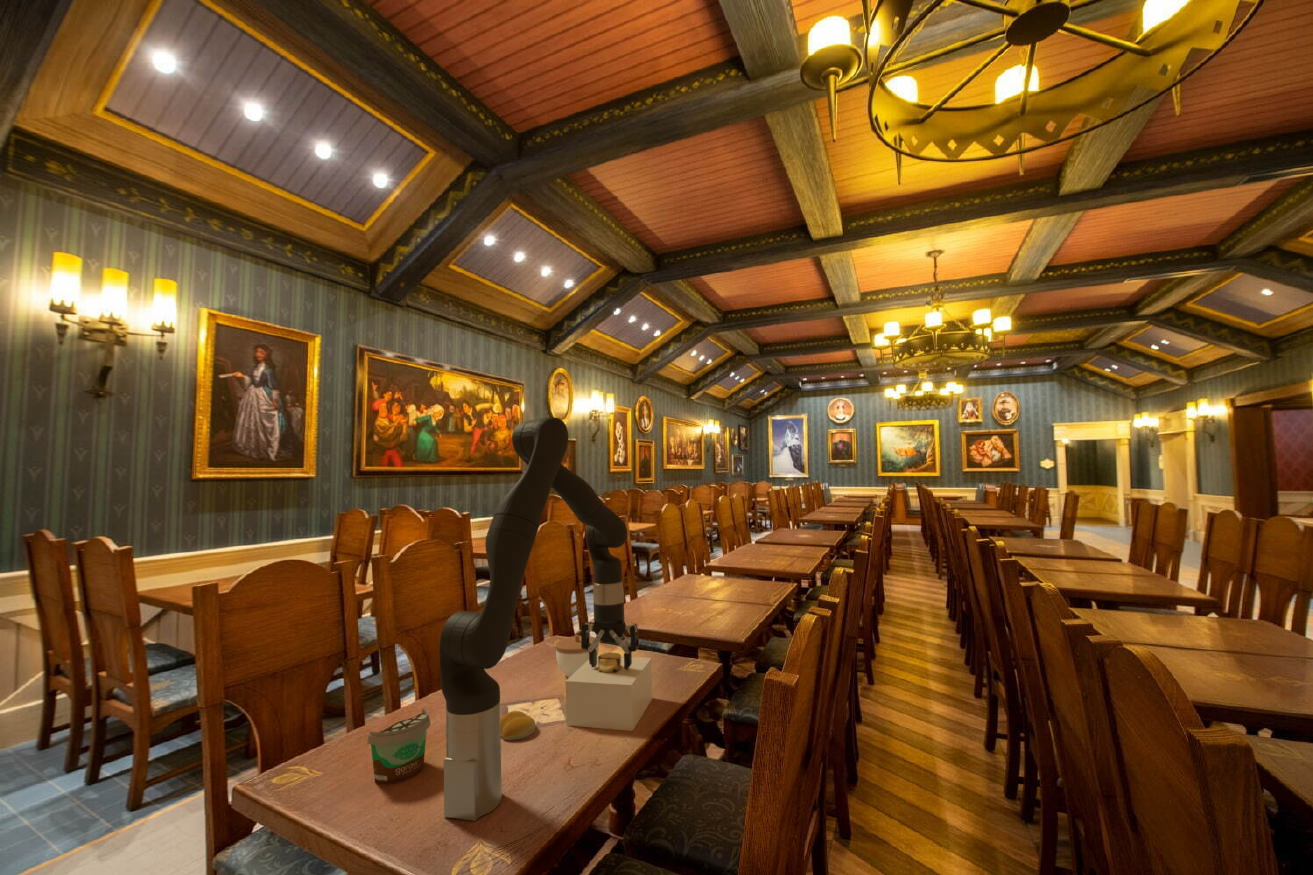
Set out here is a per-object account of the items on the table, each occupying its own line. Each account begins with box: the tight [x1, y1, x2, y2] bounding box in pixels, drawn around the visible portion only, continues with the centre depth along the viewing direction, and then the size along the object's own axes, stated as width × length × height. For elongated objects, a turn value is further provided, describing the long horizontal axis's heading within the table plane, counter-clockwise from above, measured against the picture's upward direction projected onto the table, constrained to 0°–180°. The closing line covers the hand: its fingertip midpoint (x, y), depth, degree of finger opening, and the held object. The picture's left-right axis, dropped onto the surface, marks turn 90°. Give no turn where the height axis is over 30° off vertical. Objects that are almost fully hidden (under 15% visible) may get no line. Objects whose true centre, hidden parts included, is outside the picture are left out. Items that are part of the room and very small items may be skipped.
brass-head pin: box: [598, 652, 622, 673], centre depth 132 cm, size 6×6×12 cm
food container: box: [367, 708, 431, 785], centre depth 107 cm, size 12×6×10 cm, turn 148°
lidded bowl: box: [554, 634, 600, 679], centre depth 158 cm, size 13×13×11 cm
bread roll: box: [500, 710, 536, 741], centre depth 123 cm, size 8×9×4 cm
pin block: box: [565, 654, 654, 732], centre depth 132 cm, size 18×16×10 cm
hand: (610, 667), depth 132 cm, fingers open, 8 cm apart
